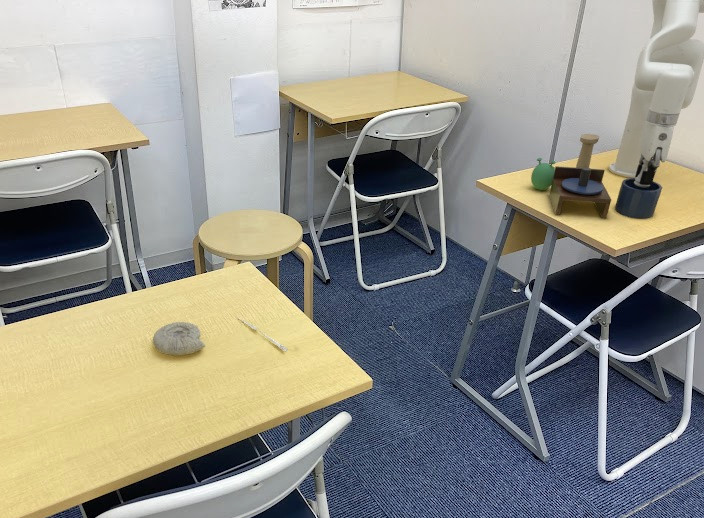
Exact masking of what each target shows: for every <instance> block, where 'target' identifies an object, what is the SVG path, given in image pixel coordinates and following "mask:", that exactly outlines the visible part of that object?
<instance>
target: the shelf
mask: <svg viewBox="0 0 704 518" xmlns="http://www.w3.org/2000/svg"><path fill="white" fill-rule="evenodd" d="M554 167H555V171H554V176H553V180H552V185H551V186H550V188H549V189H550V190H549V195H548V196H549V199H550V203H551V205H552V209H553V211H554V214H555V216H560V215H561V211H562V207H563V203H564V201H572V202H583V203H584V202H585V203H594V205H595V206H596V209H597V211H598V213H599V215H600V218H601V219H603V220H604V219H605V220H606V219H607V217H608V214H609V210H610V207H611V202H612V198H611V195H610V194H609V193H608V190H607V188H606V187H605V185H604V183H603V179H604V176H605V171H606V170H605V169H604V168H603V169H602V168H591V173H590V177H589V180H592V181H595V182H598V183H600V184H601V185H602V186H603V191H602V192H601V193H598V194H579V193H575V192H571V191H569V190H566V189H565V188H563V187H562V181H563V180H565V179H569V178H580V173H581V169H582V168H576V167H574V166H573V167H572V166H559V165H556V166H554Z"/></svg>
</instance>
